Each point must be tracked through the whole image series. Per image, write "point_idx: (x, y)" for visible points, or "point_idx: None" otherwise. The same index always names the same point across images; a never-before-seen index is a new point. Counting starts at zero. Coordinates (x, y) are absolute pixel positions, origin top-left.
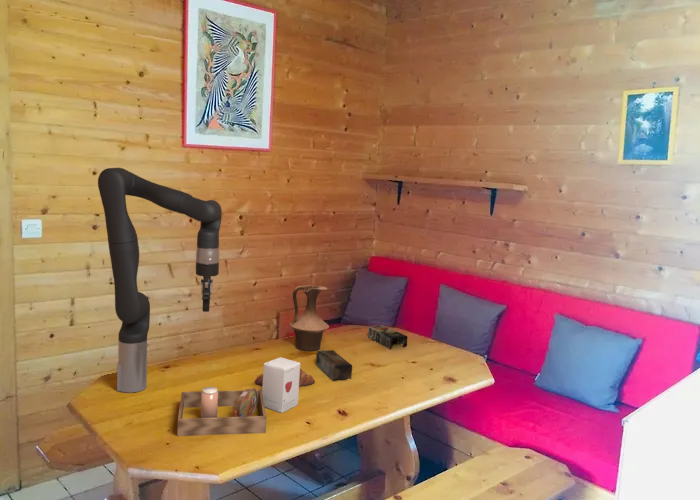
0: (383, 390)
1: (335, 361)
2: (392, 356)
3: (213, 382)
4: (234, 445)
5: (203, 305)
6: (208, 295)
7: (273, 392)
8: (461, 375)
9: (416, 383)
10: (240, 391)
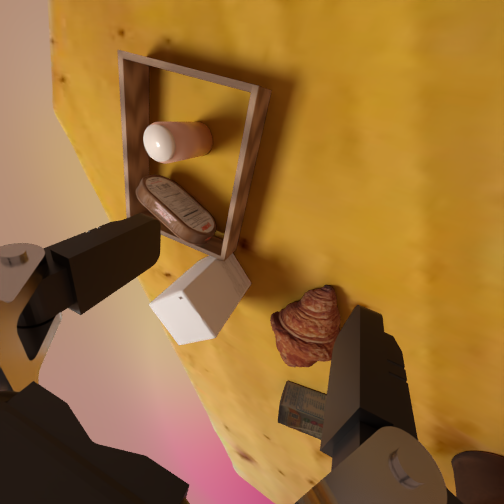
0: (236, 396)
1: (298, 419)
2: None
3: (387, 210)
4: (115, 154)
5: (101, 236)
6: (327, 428)
7: (193, 269)
8: (252, 470)
9: (245, 431)
10: (226, 224)
